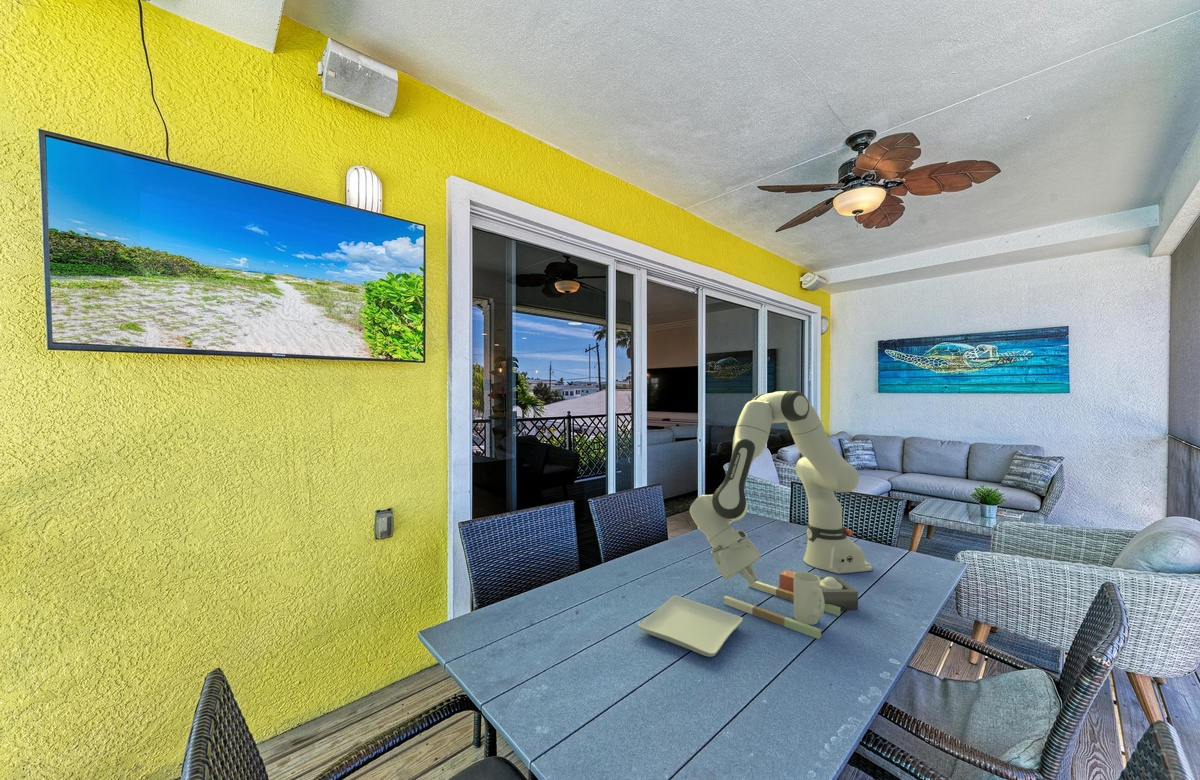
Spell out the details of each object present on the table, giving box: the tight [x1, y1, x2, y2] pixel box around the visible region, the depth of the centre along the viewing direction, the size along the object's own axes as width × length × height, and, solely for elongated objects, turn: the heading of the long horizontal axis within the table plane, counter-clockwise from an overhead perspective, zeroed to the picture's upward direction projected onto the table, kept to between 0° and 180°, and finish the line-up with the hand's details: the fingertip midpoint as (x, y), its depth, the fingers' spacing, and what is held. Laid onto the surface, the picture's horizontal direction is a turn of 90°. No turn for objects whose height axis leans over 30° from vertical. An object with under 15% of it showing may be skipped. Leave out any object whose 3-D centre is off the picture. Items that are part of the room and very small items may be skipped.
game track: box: [723, 580, 841, 640], centre depth 132 cm, size 27×18×2 cm, turn 46°
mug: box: [793, 571, 825, 626], centre depth 124 cm, size 10×7×12 cm, turn 15°
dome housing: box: [818, 576, 859, 612], centre depth 136 cm, size 11×11×6 cm
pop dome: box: [820, 576, 842, 589], centre depth 136 cm, size 6×6×4 cm
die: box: [778, 569, 795, 593], centre depth 145 cm, size 5×5×5 cm
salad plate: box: [638, 595, 744, 658], centre depth 119 cm, size 21×21×3 cm
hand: (754, 582), depth 137 cm, fingers closed
